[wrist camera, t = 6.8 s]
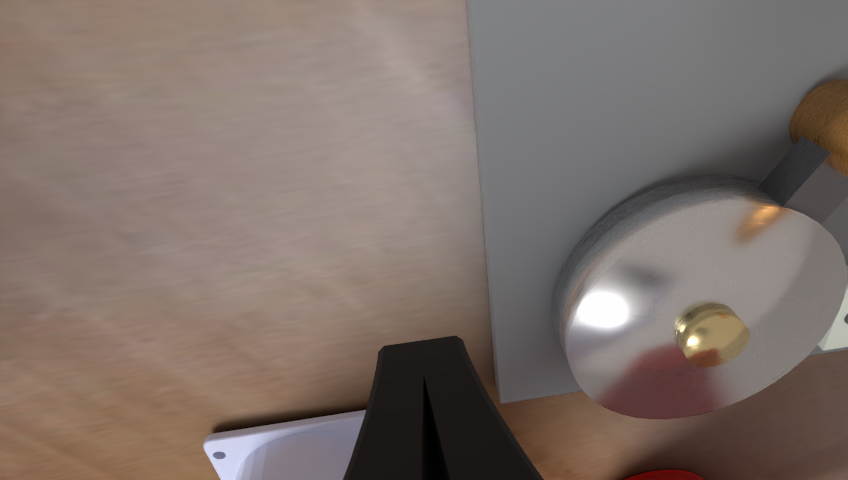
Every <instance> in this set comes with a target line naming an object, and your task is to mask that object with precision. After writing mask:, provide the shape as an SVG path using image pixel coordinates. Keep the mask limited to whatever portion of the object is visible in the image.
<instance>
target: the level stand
mask: <svg viewBox="0 0 848 480" xmlns="http://www.w3.org/2000/svg"><path fill="white" fill-rule="evenodd" d="M466 5H467V18H468V31H469V44H470V57H471V70H472V83H473V96H474V109H475V122H476V135H477V148H478V161H479V174H480V187H481V200H482V213H483V226H484V239H485V252H486V265H487V278H488V291H489V304H490V317H491V330H492V343H493V356H494V369H495V382H496V388H497V392H498V396H499V400H500V404H502V403H509V402H515V401H521V400H528V399H534V398H541V397H547V396H554V395H560V394H567V393H573V392H579V391H583V390H582V389H581V387H580V386H579V384H578V383H577V381H576V380H575V378H574V375H573V373H572V370H571V368H570V366H569V363H568V361H567V358H566V356H565V354H564V351H563V349H562V346H561V344H560V342H559V339H558V337H557V334H556V332H555V329H554V325H553V321H552V308H551V304H552V297H553V290H554V287H555V284H556V281H557V277H558V275H559V273H560V271H561V269H562V267H563V265H564V263H565V261H566V260H567V258H568V256H569V255H570V253H571V252H572V250H573V249H574V248H575V246H576V245H577V244H578V243H579V241H580V240H581V239H582V238H583V236H584V235H585V234H586V233H587V232H588V231H590V230H591V229H592V228H593V227H594V226H595V225H596V224H597V223H598V222H599V221H600V220H602V219H603V218H604V217H605V216H607V215H608V214H609V213H610V212H612V211H613V210H615V209H616V208H618V207H619V206H621V205H622V204H624V203H625V202H627V201H629V200H631V199H633V198H634V197H636V196H638V195H640V194H642V193H644V192H646V191H649V190H651V189H654V188H656V187H659V186H661V185H664V184H668V183H671V182H675V181H678V180H682V179H687V178H693V177H699V176H711V175H726V176H738V177H742V178H747V179H752V180H755V181H757V182H760V183H762V182H763V181H764V180H765V178H766V177H767V176H768V175H769V174H770V173H771V171H772V170H773V169H774V168H775V167H776V166H777V165H778V163H779V162H780V161H781V160H782V159H783V158H784V156H785V155H786V154H787V153H788V152H789V151H790V149H791V148H792V147H793V146H794V145H795V144H794V143H793V141H792V140H791V137H790V134H789V125H790V120H791V117H792V115H793V113H794V111H795V109H796V108H797V106H798V105H799V103H800V102H801V101H802V100H803V99H804V97H806V96H807V95H808V94H809V93H810V92H811V91H813V90H814V89H815V88H817V87H819V86H820V85H822V84H824V83H827V82H829V81H833V80H838V79H847V80H848V0H466ZM821 225H822V226H823V227H824V228H825V229H826V230H827V231H828V232H829V233H831V234H832V236H833V237H834V238H835V240H836V241H837V243H838V244H839V245H840V248H841V250H842V253H843V255H844V257H845V263H846V268H847V285H846V290H845V295H844V299H843V302H842V305H841V307H840V310H839V312H838V314H837V316H836V318H835V320H834V322H833V324H832V326H831V327H830V329H829V330H828V332H827V333H826V334H825V336H824V337H823V339H822V340H821V341H820V342H819V343H818V345H817V346H816V347H815V348H814V349H813V351H812V352H811V353H810V354H809V355H808V356H811V355H818V354H824V353H830V352H837V351H843V350H848V197H847V198H846V199H845V200H844V201H843V202H842V203H841V204H840V205H839V206H838V207H837V208H836V209H835V210H834V211H833V212H832V213H831V214H830V216H829V217H828V218H827V219H826V220H825V221H824V222H823V223H822V224H821Z"/></svg>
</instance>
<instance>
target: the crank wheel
mask: <svg viewBox="0 0 848 480" xmlns="http://www.w3.org/2000/svg"><path fill="white" fill-rule="evenodd" d="M789 134H790V137H791V140H792V141H793V143H794V144H795V145H794V146H793V147H792V148H791V149H790V151H789V152H788V153H787V154H786V155H785V156H784V158H783V159H782V160H781V161H780V162H779V163H778V165H777V166H776V167H775V168H774V169H773V170H772V171H771V173H770V174H769V175H768V176H767V177H766V178H765V180H764V181H763V182H762V183H760V182H757V181H755V180H752V179H747V178H742V177H738V176H726V175H711V176H699V177H693V178H687V179H682V180H678V181H675V182H671V183H668V184H664V185H661V186H659V187H656V188H654V189H651V190H649V191H646V192H644V193H642V194H640V195H638V196H636V197H634V198H633V199H631V200H629V201H627V202H625V203H624V204H622V205H621V206H619V207H618V208H616V209H615V210H613V211H612V212H610V213H609V214H608V215H607V216H605V217H604V218H603V219H602V220H600V221H599V222H598V223H597V224H596V225H595V226H594V227H593V228H592V229H591V230H590V231H588V232H587V233H586V234H585V235H584V236H583V238H582V239H581V240H580V241H579V243H578V244H577V245H576V246H575V248H574V249H573V250H572V252H571V253H570V255H569V256H568V258H567V260H566V261H565V263H564V265H563V267H562V269H561V271H560V273H559V275H558V277H557V281H556V284H555V287H554V290H553V297H552V304H551V308H552V321H553V325H554V329H555V332H556V334H557V337H558V339H559V342H560V344H561V346H562V349H563V351H564V354H565V356H566V358H567V361H568V363H569V366H570V368H571V370H572V373H573V375H574V378H575V380H576V381H577V383H578V384H579V386H580V387H581V389H582V390H583V391H584V392H585V393H586V394H587V395H588V396H589V397H590V398H591V399H592V400H594V401H595V402H597V403H598V404H599V405H601V406H603V407H605V408H607V409H609V410H611V411H614V412H617V413H620V414H623V415H627V416H632V417H636V418H646V419H672V418H682V417H688V416H694V415H699V414H703V413H707V412H711V411H714V410H717V409H720V408H723V407H726V406H729V405H732V404H734V403H736V402H739V401H741V400H744V399H746V398H748V397H750V396H752V395H754V394H755V393H757V392H759V391H761V390H763V389H764V388H766V387H768V386H769V385H771V384H773V383H774V382H776V381H777V380H779V379H780V378H781V377H783V376H784V375H786V374H787V373H788V372H790V371H791V370H792V369H793V368H794V367H796V366H797V365H798V364H799V363H800V362H801V361H802V360H804V359H805V358H806V357H807V356H808V355H809V354H810V353H811V352H812V351H813V349H814V348H815V347H816V346H817V345H818V343H819V342H820V341H821V340H822V339H823V337H824V336H825V334H826V333H827V332H828V330H829V329H830V327H831V326H832V324H833V322H834V320H835V318H836V316H837V314H838V312H839V310H840V307H841V305H842V302H843V299H844V295H845V290H846V285H847V268H846V263H845V257H844V255H843V253H842V250H841V248H840V245H839V244H838V243H837V241H836V240H835V238H834V237H833V236H832V234H831V233H829V232H828V231H827V230H826V229H825V228H824V227H823V226H822V225H821V224H822V223H823V222H824V221H825V220H826V219H827V218H828V217H829V216H830V214H831V213H832V212H833V211H834V210H835V209H836V208H837V207H838V206H839V205H840V204H841V203H842V202H843V201H844V200H845V199H846V198H847V197H848V80H847V79H838V80H833V81H829V82H827V83H824V84H822V85H820V86H819V87H817V88H815V89H814V90H813V91H811V92H810V93H809V94H808V95H807V96H806V97H804V99H803V100H802V101H801V102H800V103H799V105H798V106H797V108H796V109H795V111H794V113H793V115H792V117H791V120H790V125H789Z"/></svg>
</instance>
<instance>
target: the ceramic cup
mask: <svg viewBox="0 0 848 480" xmlns="http://www.w3.org/2000/svg"><path fill="white" fill-rule="evenodd" d="M624 480H704V479H703V478H701V477H700V476H698V475H696V474H694V473H691V472H688V471H683V470H676V469H672V470H656V471H650V472H645V473H641V474H637V475H635V476H632V477H629V478H626V479H624Z"/></svg>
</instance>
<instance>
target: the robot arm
mask: <svg viewBox="0 0 848 480" xmlns="http://www.w3.org/2000/svg"><path fill="white" fill-rule="evenodd" d="M203 447H204V450H205V452H206V453H207V455H208V457H209V459H210V461H211V463H212V464H213V466H214V468H215V470H216V472H217V473H218V475H219V477H220V479H221V480H544V479H543V478H542V477H541V475H540V474H539V472H538V471H537V470H536V468H535V467H534V466H533V464H532V463H531V461H530V460H529V458H528V457H527V455H526V454H525V452H524V451H523V450H522V448H521V447H520V445H519V444H518V442H517V440H516V439H515V437H514V436H513V434H512V433H511V431H510V429H509V428H508V426H507V425H506V423H505V422H504V420H503V419H502V417H501V415H500V414H499V412H498V410H497V409H496V407H495V405H494V404H493V402H492V400H491V399H490V397H489V395H488V393H487V391H486V390H485V388H484V386H483V384H482V382H481V380H480V379H479V377H478V375H477V373H476V371H475V369H474V366H473V364H472V362H471V360H470V358H469V355H468V353H467V351H466V348H465V345H464V342H463V340H462V339H460V338H459V337H457V336H451V337H444V338H437V339H430V340H423V341H416V342H409V343H402V344H395V345H388V346H384V347H383V348H382V349H381V350H380V351H379V352H378V360H377V366H376V372H375V377H374V381H373V386H372V390H371V394H370V398H369V401H368V405H367V408H366V410H361V411H355V412H349V413H342V414H336V415H329V416H323V417H316V418H310V419H303V420H297V421H291V422H284V423H278V424H271V425H265V426H258V427H252V428H245V429H239V430H233V431H226V432H220V433H214V434H210V435H208V436H207V437H206V439H205V442H204V445H203ZM439 477H440V478H439Z"/></svg>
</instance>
